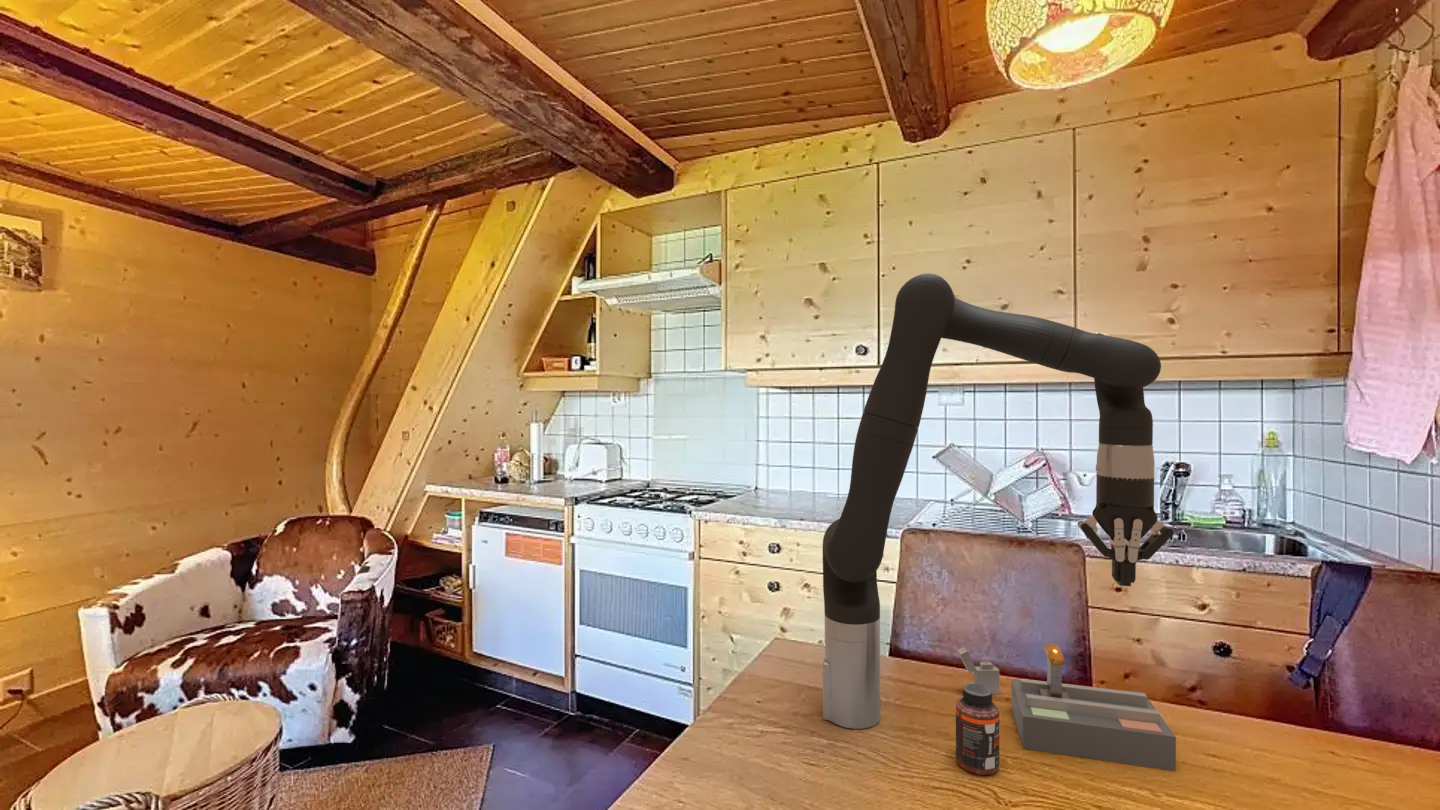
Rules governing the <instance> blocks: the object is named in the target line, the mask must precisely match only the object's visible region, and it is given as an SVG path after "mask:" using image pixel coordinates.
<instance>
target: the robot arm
mask: <svg viewBox="0 0 1440 810" xmlns="http://www.w3.org/2000/svg"><path fill="white" fill-rule="evenodd" d="M954 293H955V292H954V291H953V289H952V287H951V285H950V284H949V282H947V280H946V279H944V277H942V276H940V275H938V274H935V273H922V274H919V275H915V276H914V277H912V278H910V279H909V280H908V281H906V282H905V283H904V284H903V285H902V286H901V287H900V289H899V291H898V292H897V295H896V298H895V301H894V302H895V304H894V315H893V320H892V326H891V331H890V337H889V341H888V346H887V349H886V353H885V356H884V358H883V360H882V363H881V365H880V368H879V370H878V373H877V375H876V376H875V379H874V381H873V384H872V387H871V390H870V391H869V394H868V397H867V400H866V402H865V405H864V409H863V413H862V415H861V418H860V422H859V425H858V428H857V433H856V437H855V441H854V449H853V455H852V463H851V475H850V484H849V489H848V494H847V497H846V500H845V504H844V507H843V509H842V512H841V514H840V518H837V519H836V520H834V521H833V522H832V523H831V524H829V526H827V528H826V530H825V532H824V535H823V538H822V590H823V603H824V608H823V609H824V611H823V612H824V660H823V662H822V719H823V720H825V721H829V722H832V723H833V724H835V725H837V726H840V727H842V728H843V727H844V728H847V729H852V730H854V729H856V730H861V729H867V728H868V729H869V728H871V727H872V728H873V727H874V726H876V725H877V724H879V722H880V721H881V710H882V709H881V707H882V705H881V704H882V703H881V602H880V596H879V588H878V575H877V571H878V569H879V568H880V566H881V563H882V561H883V557H884V551H885V546H886V539H887V535H888V528H889V523H890V518H891V514H892V513H891V512H892V508H893V505H894V502H895V499H896V496H897V493H898V490H899V488H900V486H901V484H902V480H903V477H904V475H905V471H906V468H907V465H908V463H909V459H910V456H911V453H912V450H913V449H914V444H915V441H916V437H917V434H918V431H919V428H920V423H921V421H922V415H923V412H924V406H925V401H926V397H927V390H928V386H929V385H928V384H929V378H930V374H931V368H932V365H933V361H934V359H935V356H936V352H937V350H938V347H939V346H940V342H941V339H944V340H945V339H946V340H951V341H956V342H957V341H958V342H962V343H965V344H971V345H975V346H979V347H982V348H987V349H989V350H992V351H995V352H999V353H1002V354H1005V355H1008V356H1012V357H1013V358H1014V357H1015V358H1017V359H1020V360H1023V361H1027V362H1029V363H1033V364H1037V365H1040V366H1042V367H1045V368H1049V369H1053V370H1056V371H1059V372H1063V373H1064V372H1065V373H1073V374H1080V375H1084V376H1086V377H1090V378H1092V379H1093V381H1094V389H1095V396H1096V402H1097V408H1098V411H1099V418H1098V448H1097V452H1096V464H1095V470H1096V471H1095V472H1096V482H1095V483H1096V487H1095V488H1096V489H1095V490H1096V491H1095V492H1096V495H1095V499H1096V500H1095V502H1096V503H1095V507H1094V508H1093V511H1092V516H1090V517H1088V518H1087V519H1085V520H1078V523H1077V527H1078V529H1080V530H1081V531H1082V533H1083V534H1084V536H1086V538H1087V539H1088V540H1089V542H1091V543H1092V545H1093V546H1094V547H1095V548H1096V549H1097V550H1098V552H1099V553H1100V554H1102V555H1103V557H1104V558H1105V557H1107V558H1110V559H1111V577H1112V579H1113V580H1114V581H1115V582H1116V583H1117V585H1118V586H1121V587H1131V586H1132V583H1133V584H1135V581H1136V577H1137V572H1136V571H1137V569H1136V567H1137V566H1136V565H1137V562H1138V561H1141V560H1147V561H1148V560H1149V559H1151V558H1152V557H1153V556H1154V555H1155V554H1156V553H1157V552H1158V551H1159V550H1160V549H1161V547H1163V546H1164V544H1165V543H1167V542H1168V541H1169V540H1170V539H1171V538H1172V537H1173V536H1174V533H1175V532H1174V530H1173V529H1172V528H1170V527H1169V526H1167V525H1166V524H1163V523H1162V522H1160V520H1158V519H1159V518H1158V515H1157V513H1156V510H1155V454H1154V447H1153V446H1154V445H1153V444H1154V443H1153V442H1154V441H1153V440H1154V437H1153V435H1154V432H1153V430H1154V428H1153V427H1154V424H1153V423H1154V420H1153V414H1152V412H1151V410H1150V409H1149V408H1148V407H1147V406H1146V403H1145V394H1144V393H1145V392H1144V391H1145V390H1144V388H1145V387H1148V386H1150V385H1151V384H1153V383H1154V381H1156V380H1157V379H1158V377H1159V375H1160V373H1161V369H1162V363H1161V360H1160V357H1159V355H1158V354H1157V353H1156V351H1155V350H1154V349H1153V348H1151V347H1149V346H1148V345H1146V344H1144V343H1141V342H1138V341H1135V340H1130V339H1125V338H1121V337H1116V336H1111V335H1105V334H1100V333H1093V332H1090V331H1089V332H1088V331H1086V330H1084V329H1083V330H1082V329H1080V328H1076V327H1074V326H1071V325H1066V324H1063V323H1060V322H1057V321H1054V320H1049V319H1046V318H1042V317H1037V316H1031V315H1026V314H1020V313H1013V312H1012V313H1011V312H1004V311H998V310H993V309H988V308H985V307H981V306H977V305H974V304H971V303H968V302H966V301H964V300H961V299H959V298H956V297H955V294H954ZM1097 524H1098V526H1100V528H1101V529H1102V530H1103V532H1104V533H1105V534H1106V535H1107V536H1108V541H1109V545H1110V548H1109V547H1108V546H1107V545H1106V543H1105V542H1104V541H1103V540H1102V539H1101V538H1100V537H1099V536H1098V535H1097V532H1098V528H1099V527H1098V526H1097ZM1149 531H1150V532H1151V534H1150V536H1149V537H1148V538H1147V539H1146V540H1145V541H1144V542H1143V543H1142V544H1141V539H1143V537H1144V536H1145V535H1147V534H1148V532H1149Z"/></svg>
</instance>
